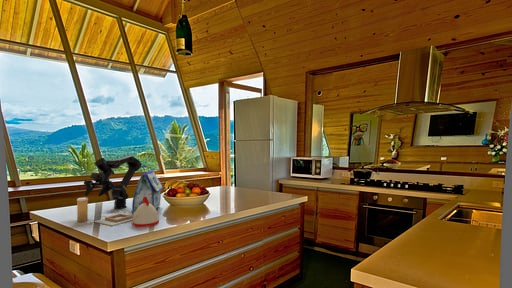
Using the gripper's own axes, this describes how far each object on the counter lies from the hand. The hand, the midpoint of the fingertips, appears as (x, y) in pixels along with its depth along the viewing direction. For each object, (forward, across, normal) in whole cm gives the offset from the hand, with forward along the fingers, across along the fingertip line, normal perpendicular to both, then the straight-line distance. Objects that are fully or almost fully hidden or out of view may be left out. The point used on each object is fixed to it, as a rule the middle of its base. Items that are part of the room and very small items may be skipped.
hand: (92, 195), depth 174 cm
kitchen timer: (+13, +39, +6) cm, 42 cm away
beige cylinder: (+15, 0, +4) cm, 15 cm away
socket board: (+11, +20, +8) cm, 24 cm away
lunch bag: (-7, +23, +26) cm, 36 cm away
